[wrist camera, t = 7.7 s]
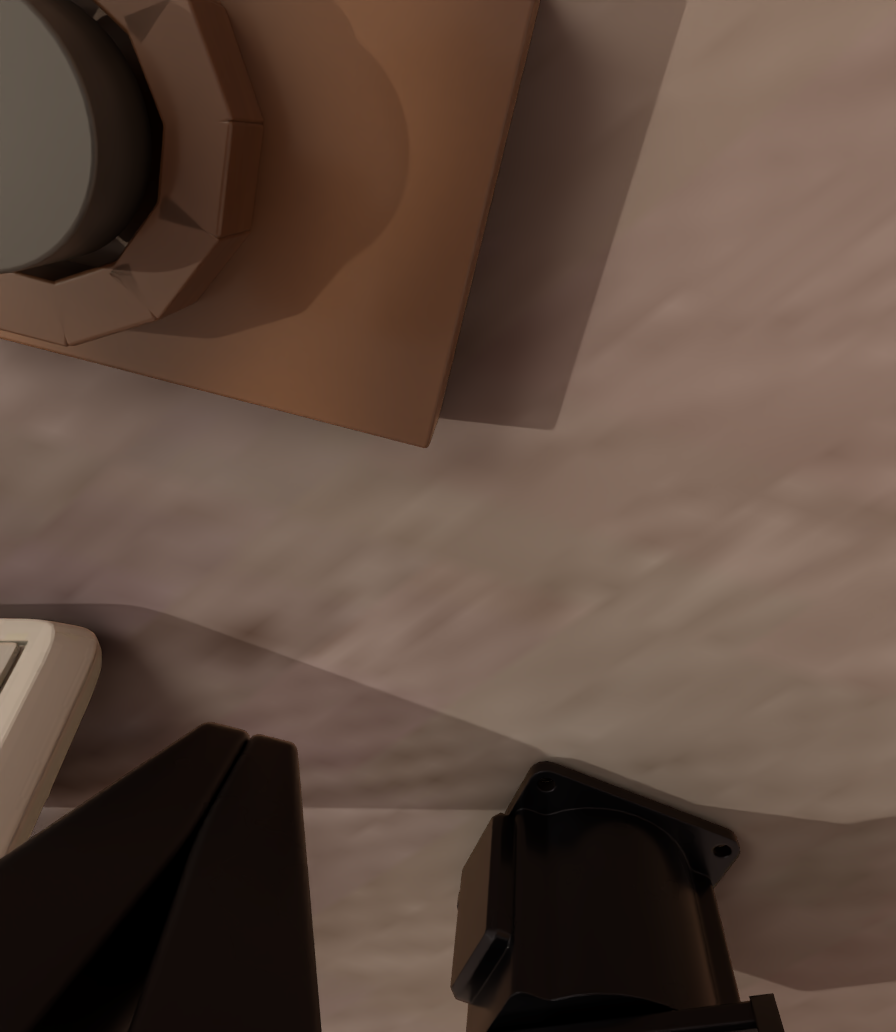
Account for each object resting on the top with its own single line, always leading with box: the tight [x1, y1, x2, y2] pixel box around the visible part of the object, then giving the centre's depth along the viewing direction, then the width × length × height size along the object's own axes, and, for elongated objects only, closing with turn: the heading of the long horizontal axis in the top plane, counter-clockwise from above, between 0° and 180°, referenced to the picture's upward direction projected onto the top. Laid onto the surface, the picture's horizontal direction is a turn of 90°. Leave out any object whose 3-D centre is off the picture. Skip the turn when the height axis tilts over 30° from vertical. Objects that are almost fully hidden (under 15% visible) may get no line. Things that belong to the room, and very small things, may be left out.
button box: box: [0, 0, 540, 448], centre depth 16 cm, size 12×9×4 cm
